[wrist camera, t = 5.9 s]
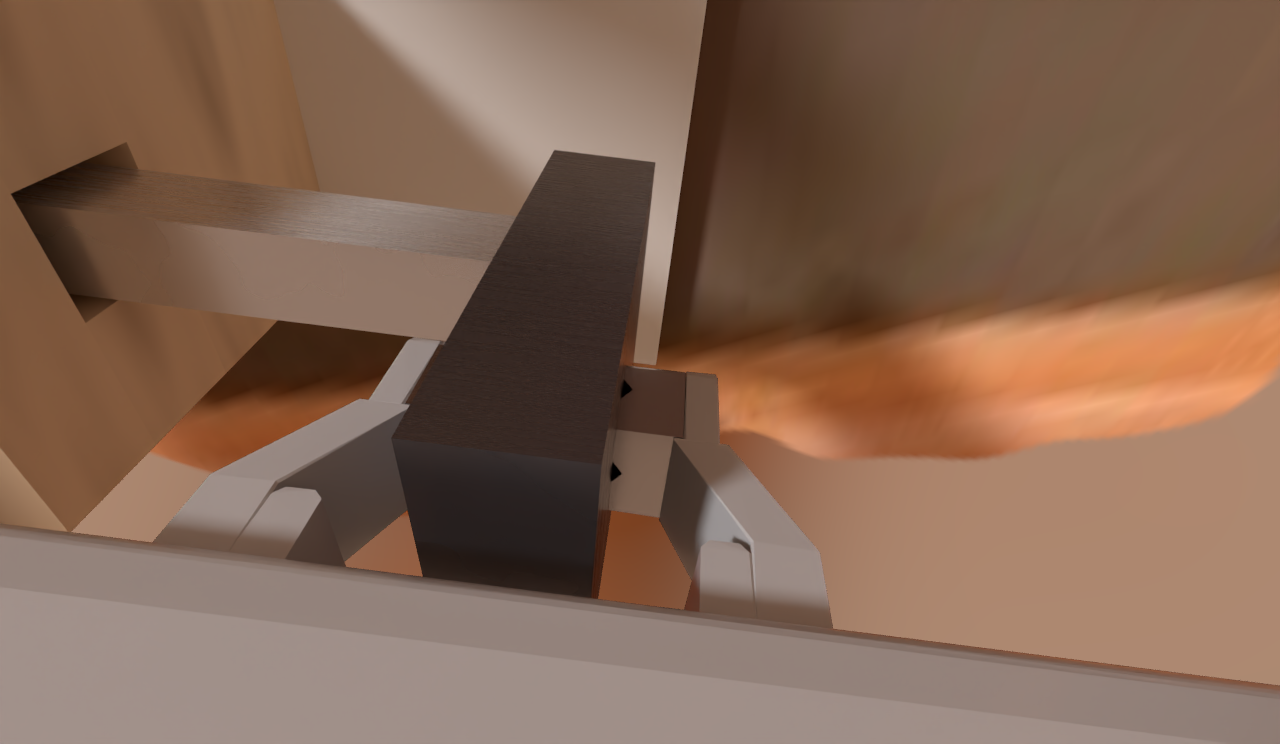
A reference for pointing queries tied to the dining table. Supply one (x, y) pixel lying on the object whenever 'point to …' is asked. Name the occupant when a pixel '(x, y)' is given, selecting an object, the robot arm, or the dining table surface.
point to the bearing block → (139, 139)
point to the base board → (497, 102)
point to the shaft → (416, 329)
